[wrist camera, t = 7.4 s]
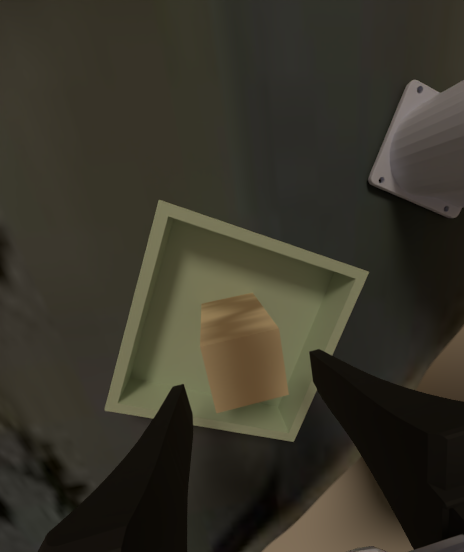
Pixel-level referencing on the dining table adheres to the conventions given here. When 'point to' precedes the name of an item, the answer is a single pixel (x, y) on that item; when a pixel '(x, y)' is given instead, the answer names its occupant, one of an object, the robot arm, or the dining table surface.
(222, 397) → the oak block
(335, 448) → the dining table surface
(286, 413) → the sage bin
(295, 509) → the dining table surface
